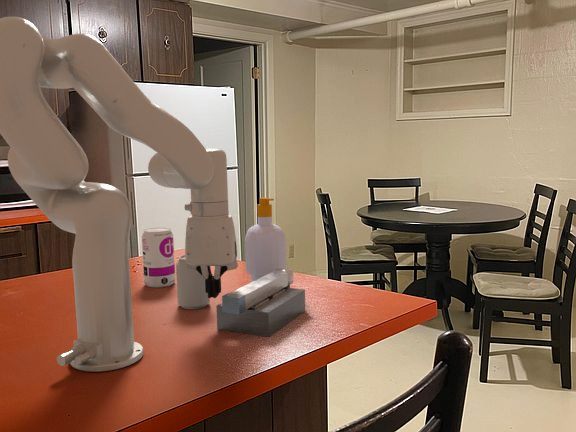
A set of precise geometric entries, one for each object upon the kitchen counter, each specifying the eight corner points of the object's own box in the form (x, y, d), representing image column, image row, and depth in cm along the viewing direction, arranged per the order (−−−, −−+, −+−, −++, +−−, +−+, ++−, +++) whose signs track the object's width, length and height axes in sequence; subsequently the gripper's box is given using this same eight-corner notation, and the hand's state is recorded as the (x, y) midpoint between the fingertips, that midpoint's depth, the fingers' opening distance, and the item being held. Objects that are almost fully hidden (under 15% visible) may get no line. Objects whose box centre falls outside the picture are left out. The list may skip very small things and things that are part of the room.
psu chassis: (269, 336, 111) (268, 311, 110) (217, 329, 116) (216, 304, 115) (312, 306, 131) (311, 283, 130) (266, 300, 136) (265, 279, 135)
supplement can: (181, 282, 154) (179, 228, 152) (159, 289, 147) (157, 233, 145) (160, 279, 158) (157, 226, 156) (138, 285, 152) (135, 230, 150)
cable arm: (239, 314, 108) (239, 298, 108) (222, 311, 110) (221, 296, 109) (296, 281, 132) (295, 268, 131) (280, 280, 133) (280, 267, 133)
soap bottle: (263, 301, 135) (261, 201, 132) (238, 292, 143) (235, 198, 140) (295, 292, 142) (293, 197, 139) (269, 285, 150) (267, 195, 146)
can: (203, 311, 128) (201, 259, 127) (172, 309, 130) (170, 258, 128) (214, 301, 136) (212, 252, 134) (185, 300, 137) (182, 252, 136)
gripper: (168, 212, 113) (173, 301, 115) (242, 212, 111) (245, 302, 113) (180, 207, 120) (184, 290, 123) (249, 207, 118) (252, 291, 121)
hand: (213, 296), depth 118 cm, fingers closed
